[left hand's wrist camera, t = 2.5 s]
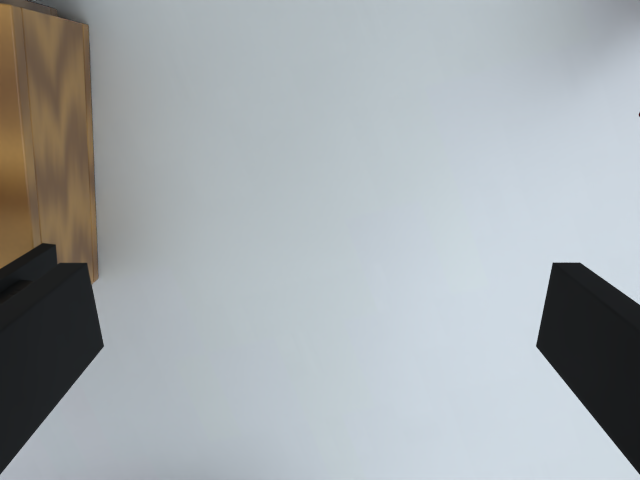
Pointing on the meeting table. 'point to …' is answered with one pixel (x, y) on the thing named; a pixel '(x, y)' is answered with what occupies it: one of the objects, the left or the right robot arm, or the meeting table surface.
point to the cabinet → (46, 138)
